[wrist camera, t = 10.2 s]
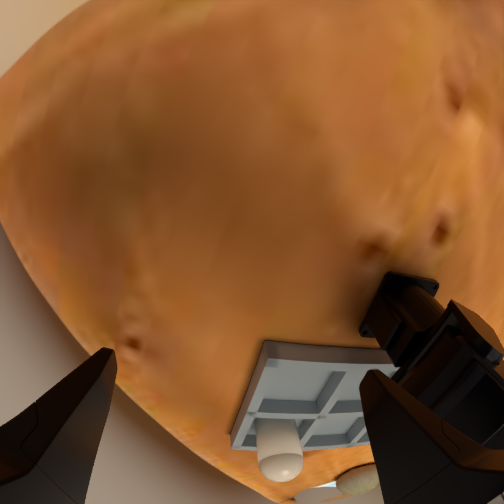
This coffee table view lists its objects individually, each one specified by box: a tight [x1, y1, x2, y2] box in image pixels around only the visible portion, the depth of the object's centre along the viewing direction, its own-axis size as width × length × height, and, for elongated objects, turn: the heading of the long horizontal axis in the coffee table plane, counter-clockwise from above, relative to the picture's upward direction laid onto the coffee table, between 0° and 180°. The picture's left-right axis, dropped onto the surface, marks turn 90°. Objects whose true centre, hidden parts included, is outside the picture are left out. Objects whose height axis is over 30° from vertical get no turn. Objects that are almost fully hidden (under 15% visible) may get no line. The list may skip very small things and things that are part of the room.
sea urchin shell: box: [336, 464, 379, 495], centre depth 39 cm, size 9×8×8 cm
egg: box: [255, 418, 304, 482], centre depth 25 cm, size 5×5×8 cm
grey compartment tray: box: [230, 340, 400, 451], centre depth 28 cm, size 24×16×2 cm
